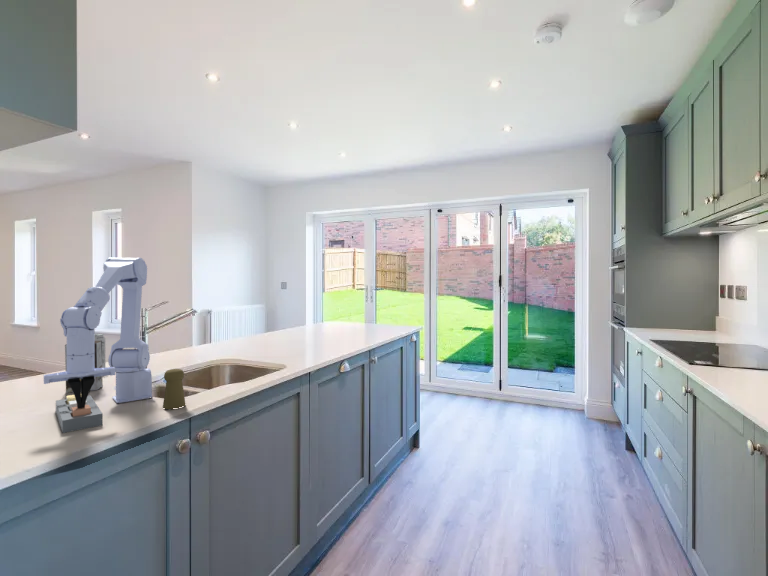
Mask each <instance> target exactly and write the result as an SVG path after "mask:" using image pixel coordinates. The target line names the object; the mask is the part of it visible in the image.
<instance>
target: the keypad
mask: <svg viewBox="0 0 768 576" xmlns="http://www.w3.org/2000/svg"><path fill="white" fill-rule="evenodd" d="M86 401H87V405H89V406H90V407H91V414H86V415H80V416H74V417H72V415H71V410H69V404H66V398H65V399H58V400H55V414H56V417H57V420H58V423H59V427H60V430H61V432H62V434H65V433H70V432H75V431H79V430H85V429H90V428H96V427H100V426H103V422H104V421H103V416H104V415H103V412H102V410H101V409H100V407H99V406H98V404H97V403H96V401H95V400H94V398H93V397H92V395H90V394H89V395H88V396H87V399H86Z"/></svg>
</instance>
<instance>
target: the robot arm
mask: <svg viewBox="0 0 768 576" xmlns="http://www.w3.org/2000/svg"><path fill="white" fill-rule="evenodd" d="M102 266H103V267H102V268H103V274H101V276H100V279H98V281H97V282H96V284H95V286H92V287H88V288H87V289H86V291H85V292H84V293H83V294H82V295H81V297H80V298H79V299H78V300H77V302H76V303H75V305H74V306H71V307H68V308H66V309H65V310H64V311H63V312H62V313H61V318H60V319H59V320H60V321H59V322H60V323H59V324H60V326H61V328H62V329H63V335H64V337H65V338H66V344H67V371H66V370H65V371H60V372H54V373H48V374H43V384H44V385H46V384H51V383H58V382H66V381H67V382H68V384H69V386H70V387H71V389H72V391H73V392H72V393H73V395H75V398H76V402H77V407H78V408H84V407H85V403H86V399H87V396H89V393H90V391H91V390H90V389H91V387H92V385H93V384H94V381H95V379H94V377H99V376H102V377H106V376H115V395H114V396H112V397H111V398H112V399H113V400H114V402H115V403H116V404H121V403H127V402H133V401H139V400H146V399H152V398H153V391H152V390H153V388H152V387H153V385H152V384H153V382H152V381H153V380H152V379H153V377H152V371H151V369H150V368H147V367H148V365H149V364H150V360H151V359H150V357H151V356H150V351H149V344H148V343H147V342H145V341H143V340H142V339H141V338H140V328H141V315H142V313H141V310H142V294H143V286H145V285H146V284H147V278H148V265H147V264H146V262H145V259H143V258H142V257H113V256H112V257H111V256H110V257H107V259H106V260H105V261H104V263H103V265H102ZM116 285H118V286H120V287H121V288H122V302H121V303H122V305H121V318H120V319H121V321H120V322H121V323H120V337H119V340H117V341H116V342H114V343H113V344H112V345H111V349H110V353H109V355H108V359H107V361H108V362H107V363H108V365H109V366H108V367H107V366H105V368H95V334H96V333H95V330H96V328H98V326H100V322H101V316H102V311H103V309H105V307H106V305H107V304H108V302H109V301H110V292H111V291H112V290H113V289H114V288H115V287H116ZM88 375H89V376H88ZM80 379H81V382H80ZM150 397H151V398H150Z"/></svg>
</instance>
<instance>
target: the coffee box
mask: <svg viewBox="0 0 768 576" xmlns="http://www.w3.org/2000/svg"><path fill="white" fill-rule="evenodd" d="M64 354H65V355H64V357H65V358H64V360H65V361H64V362H65V364H64V365H65V372H66V371H67V343H65V345H64ZM95 368H102V340H101V341H95ZM88 376H89V375H88ZM94 379H95V381H94V384H93V385H92V387H91V389H90V391H97V390H99V389H101V388H102V387H103V386H104V385H103V382H104V381H103V376H99V377H94ZM80 382H81V379H80ZM100 387H101V388H100ZM66 392H67V393H73V391H72V389H71V387H70V386H69V384H68V382H67V381H65V393H66Z"/></svg>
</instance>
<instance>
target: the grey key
mask: <svg viewBox="0 0 768 576" xmlns="http://www.w3.org/2000/svg"><path fill="white" fill-rule="evenodd" d="M85 405H87V401H86V403H85ZM71 407H77V402H76V400H75V401H69V410H71Z"/></svg>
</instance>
